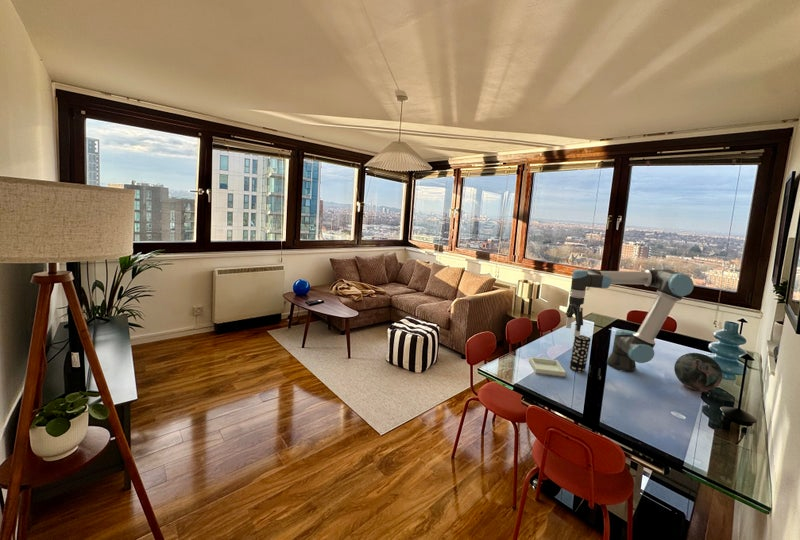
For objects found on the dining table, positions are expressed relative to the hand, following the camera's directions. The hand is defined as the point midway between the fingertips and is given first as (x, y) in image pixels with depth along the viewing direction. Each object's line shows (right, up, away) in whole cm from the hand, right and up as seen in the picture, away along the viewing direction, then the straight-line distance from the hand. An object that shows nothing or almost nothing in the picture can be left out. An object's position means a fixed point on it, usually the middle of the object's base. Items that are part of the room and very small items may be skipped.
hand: (572, 331), depth 203 cm
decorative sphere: (+62, -30, -10) cm, 70 cm away
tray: (-15, -22, +1) cm, 27 cm away
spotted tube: (+5, -23, +4) cm, 24 cm away
